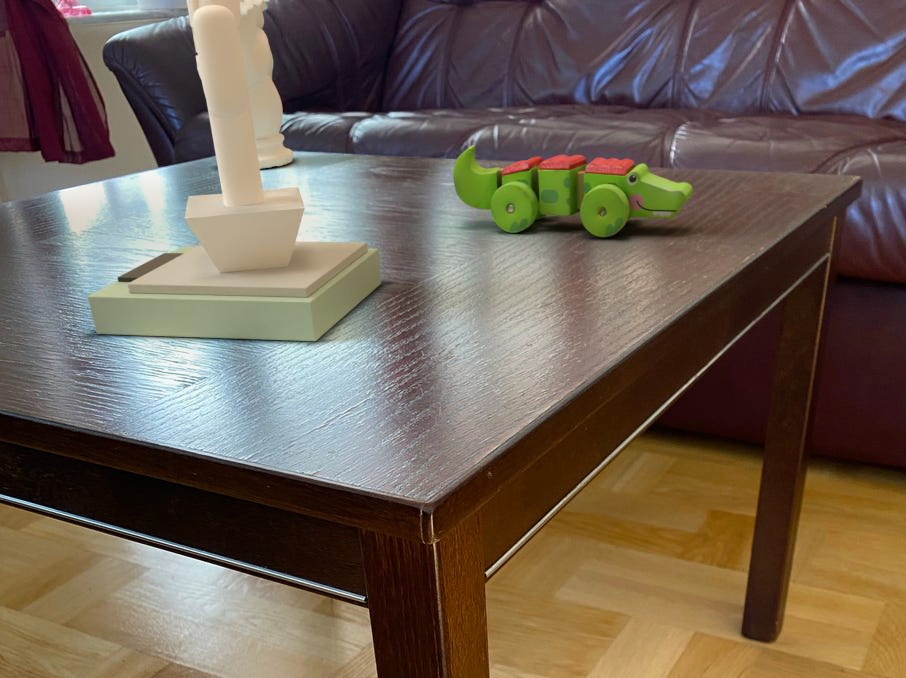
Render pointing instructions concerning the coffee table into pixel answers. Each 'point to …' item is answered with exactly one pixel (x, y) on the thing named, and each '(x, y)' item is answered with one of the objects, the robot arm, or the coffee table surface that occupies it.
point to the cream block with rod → (236, 156)
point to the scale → (239, 295)
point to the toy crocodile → (568, 191)
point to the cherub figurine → (261, 86)
